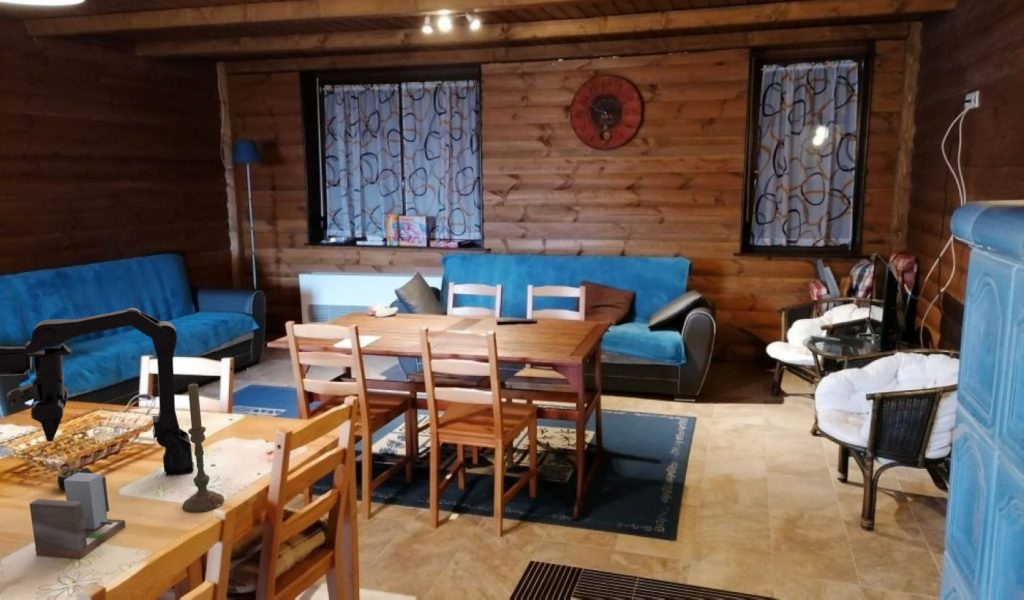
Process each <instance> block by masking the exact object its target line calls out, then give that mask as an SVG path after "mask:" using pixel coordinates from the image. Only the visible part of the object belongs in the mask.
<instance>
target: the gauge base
mask: <svg viewBox="0 0 1024 600" xmlns="http://www.w3.org/2000/svg"><path fill="white" fill-rule="evenodd" d="M29 511H30V518H31V525H32V532H33V540H34V549H35V554H36V557H45V556H47V558H49V557H50V558H51V557H52V558H59V559H60V558H62V559H72V560H73V559H76V560H81V559H83V558H84V557H85V556H87V555H88V554H90V552H92V551H94V550H95V549H96V548H98V547H100V546H101V545H102V544H104V543H105V542H106V541H107V540H109V539H110V538H112V537H113V536H114V535H115V534H117V533H119V532H120V531H121V530H122V529H123V528H126V520H125V519H113V518H107V519H108V521H107V522H113V524H112V525H109V524H102V525H101V526H99V527H98V528H97V529H85V524H84V516H83V508H82V502H81V501H66V500H62V499H60V500H59V499H47V498H46V499H45V498H37V499H35V500H34V501H32V502H30V503H29Z"/></svg>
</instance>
